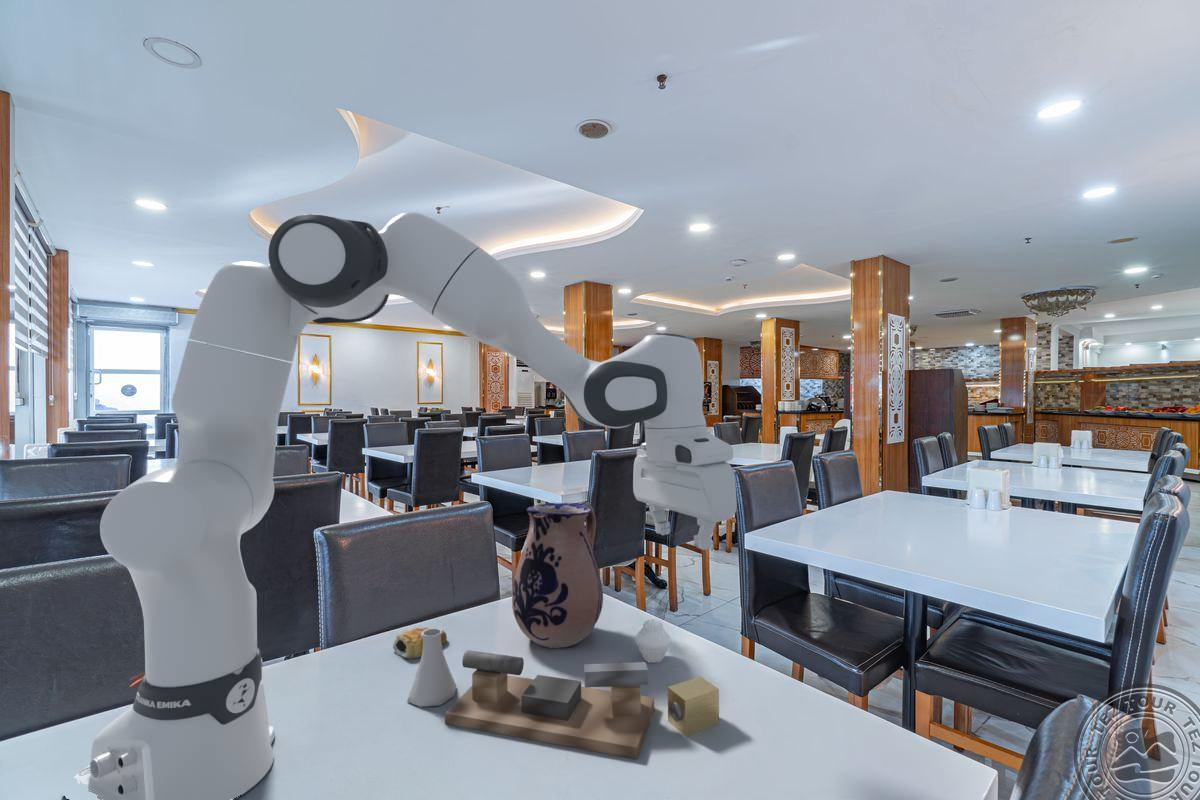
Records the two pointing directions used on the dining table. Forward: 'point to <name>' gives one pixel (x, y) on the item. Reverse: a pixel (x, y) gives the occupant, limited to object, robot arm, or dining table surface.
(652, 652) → the white rounded piece
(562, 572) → the ceramic pitcher
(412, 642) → the pastry
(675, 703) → the tan rectangular block
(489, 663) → the shaft stand
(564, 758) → the dining table surface
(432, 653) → the flask
